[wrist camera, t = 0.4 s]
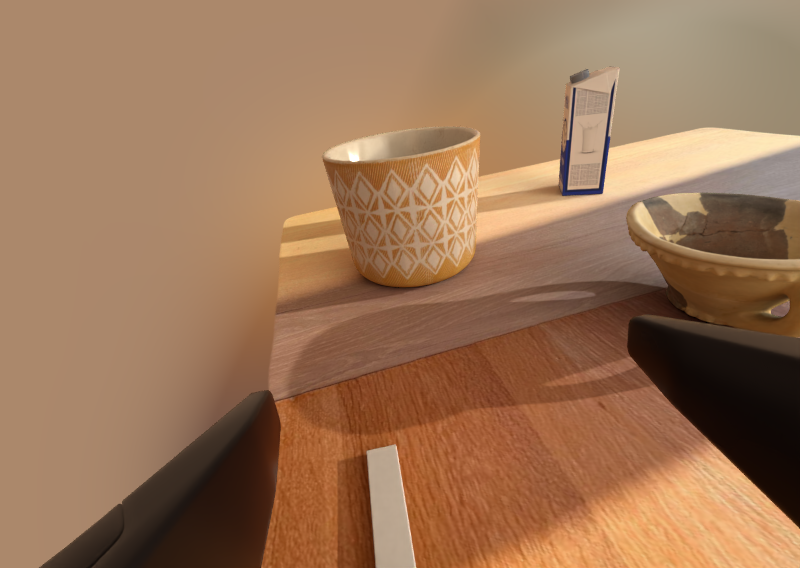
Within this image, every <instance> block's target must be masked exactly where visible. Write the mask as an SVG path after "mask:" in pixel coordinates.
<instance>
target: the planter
mask: <svg viewBox="0 0 800 568" xmlns="http://www.w3.org/2000/svg"><path fill="white" fill-rule="evenodd" d="M479 150H480V133H479V131H477V130H475V129H472V128H468V127H455V126H453V127H450V126H446V127H428V128H416V129H408V130H401V131H394V132H388V133H382V134H377V135H372V136H367V137H364V138H359V139H355V140H352V141H349V142H345V143H342V144H339V145H337V146H334V147H332V148H330V149H329V150H327V151H326V152H324V153H323V156H322V158H323V162H324V165H325V168H326V172H327V175H328V178H329V182H330V185H331V188H332V191H333V194H334V198H335V201H336V205H337V208H338V211H339V215H340V218H341V221H342V225H343V228H344V231H345V234H346V238H347V241H348V244H349V248H350V251H351V254H352V258H353V261H354V264H355V266H356V268H357V270H358V271H359V272H360V273H361V274H362V275H363V276H364V277H365V278H367V279H368V280H370V281H372V282H375V283H378V284H381V285H385V286H391V287H416V286H423V285H429V284H433V283H436V282H440V281H443V280H445V279H448V278H450V277H452V276H454V275H455V274H457V273H459V272H460V271H461V270H463V269H464V268H465V267H466V266H467V265H468V264H469V263H470V261H471V260H472V258H473V256H474V253H475V247H476V224H477V199H478V173H479Z"/></svg>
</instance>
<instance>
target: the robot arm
mask: <svg viewBox="0 0 800 568" xmlns="http://www.w3.org/2000/svg"><path fill="white" fill-rule="evenodd" d="M627 348H628V352H629V354H630V356H631V357H632V359H633V360H634V361H635V362H636V363H637V364H638V365H639V367H640V368H641V369H642V370H643V371H644V372H645V374H646V375H647V376H648V377H649V378H650V379H651V381H652V382H653V383H654V384H655V385H656V386H657V388H658V389H659V390H660V391H661V392H662V393H663V395H664V396H665V397H666V398H667V399H668V400H669V401H670V402H671V404H672V405H673V406H674V407H675V408H676V409H677V410H678V411H679V412H680V413H681V414H682V415H683V416H685V417H686V418H687V419H688V420H689V421H690V422H691V423H692V424H693V425H694V426H695V427H696V428H697V429H698V430H699V431H700V432H701V433H702V434H703V435H704V436H705V437H706V438H707V439H708V440H709V441H710V442H711V443H712V444H713V445H714V446H715V447H716V448H717V449H718V450H720V451H721V452H722V453H723V454H724V455H725V456H726V457H727V458H728V459H729V460H730V461H731V462H732V463H733V464H734V465H735V466H736V467H737V468H738V469H739V470H740V471H741V472H742V473H743V474H744V475H745V476H746V477H747V478H748V479H749V480H750V481H751V482H752V483H753V484H755V485H756V486H757V487H758V488H759V489H760V490H761V491H762V492H763V493H764V494H765V495H766V496H767V497H768V498H769V499H770V500H771V501H772V502H773V503H774V504H775V505H776V506H777V507H778V508H779V509H780V510H781V511H782V512H783V513H784V514H785V515H786V516H787V517H788V518H789V519H791V520H792V521H793V522H794V523H795V524H796V525H797V526H798V527H799V528H800V338H796V337H790V336H783V335H777V334H771V333H764V332H758V331H751V330H745V329H739V328H732V327H726V326H719V325H713V324H706V323H700V322H694V321H687V320H681V319H674V318H668V317H662V316H655V315H642V316H637V317H633V318H632V319H631V320H630V321H629V328H628V343H627ZM280 431H281V425H280V419H279V415H278V412H277V408H276V405H275V402H274V398H273V395H272V393H271V392H270V391H269V390H264V391H259V392H255V393H251V394H250V395H249V396H248V397H247V398H245V399H244V400H243V401H242V402H240V403H239V404H238V405H237V406H236V407H234V408H233V409H232V410H231V411H230V412H228V413H227V414H226V415H225V416H224V417H222V418H221V419H220V420H219V421H218V422H216V423H215V424H214V425H213V426H212V427H210V428H209V429H208V430H207V431H206V432H204V433H203V434H202V435H201V436H200V437H198V438H197V439H196V440H195V441H194V442H192V443H191V444H190V445H189V446H188V447H186V448H185V449H184V450H183V451H182V452H181V453H179V454H178V455H177V456H176V457H174V458H173V459H172V460H171V461H170V462H168V463H167V464H166V465H165V466H164V467H162V468H161V469H160V470H159V471H158V472H156V473H155V474H154V475H153V476H152V477H150V478H149V479H148V480H147V481H146V482H144V483H143V484H142V485H141V486H140V487H138V488H137V489H136V490H135V491H134V492H132V493H131V494H130V495H129V496H128V497H127V498H125V499H124V500H123V501H122V504H118V505H117V506H115V507H114V508H113V509H112V510H111V511H109V512H108V513H107V514H106V515H105V516H104V517H102V518H101V519H100V520H99V521H98V522H96V523H95V524H94V525H93V526H91V527H90V528H89V529H88V530H86V531H85V532H84V533H83V534H81V535H80V536H79V537H78V538H76V539H75V540H74V541H73V542H72V543H70V544H69V545H68V546H67V547H65V548H64V549H63V550H62V551H60V552H59V553H57V554H56V555H55V556H54V557H52V558H51V559H50V560H48V561H47V562H46V563H45V564H43V565H42V566H41V567H39V568H261V565H262V560H263V554H264V549H265V544H266V539H267V534H268V529H269V524H270V519H271V514H272V508H273V503H274V498H275V492H276V482H277V470H278V457H279V444H280Z"/></svg>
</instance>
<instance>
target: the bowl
mask: <svg viewBox="0 0 800 568" xmlns="http://www.w3.org/2000/svg"><path fill="white" fill-rule="evenodd" d="M626 219H627V224H628V230H629V235H630V236H631V239H632V240H633V241H634V242H635V244H636V245H637V246H640V247H641V250H642V251H647V252H648V253H649V255H650V256H651V258H652V259H653V260H654V261H655V263H656V265H657V266H658V268H659V270H660V271H661V273H662V275H663V277H664V279H665V280H666V282H667V284H668V285H669V286H668V289H667V290H666V295H667V297H668V299H669V300H670V301H671V303H673V304H674V305H675V306H676V307H677V308H678V309H680V310H682V311H685V312H686V313H687V314H688V315H690V316H693V317H696V318H698V319H700V320H703V321H706V322H709V323H714V324H719V325H728V326H732V327H734V328H739V329H745V330H751V331H758V332H764V333H771V334H777V335H783V336H790V337H800V201H797V200H789V199H781V198H772V197H765V196H755V195H744V194H726V193H681V194H669V195H663V196H658V197H653V198H649V199H646V200H643V201H640V202H638V203H636V204H634V205H632V207H631V208H630V209H629V210H628V212H627V217H626ZM788 301H790V310H789V312H788V313H787V314H786V315H785V316H784V317H779V316H775V315H771V309H773V308H774V307H776V306H779V305H781V304H783V303H785V302H788Z"/></svg>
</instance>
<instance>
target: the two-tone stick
mask: <svg viewBox="0 0 800 568" xmlns="http://www.w3.org/2000/svg"><path fill="white" fill-rule="evenodd" d="M367 464H368V477H369V490H370V502H371V515H372V528H373V540H374V553H375V566H376V568H416V564H415V558H414V552H413V545H412V539H411V533H410V527H409V521H408V514H407V508H406V502H405V496H404V490H403V483H402V477H401V471H400V465H399V459H398V452H397V447H396V445H391V446H386V447H382V448H377V449H372V450H368V451H367Z"/></svg>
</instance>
